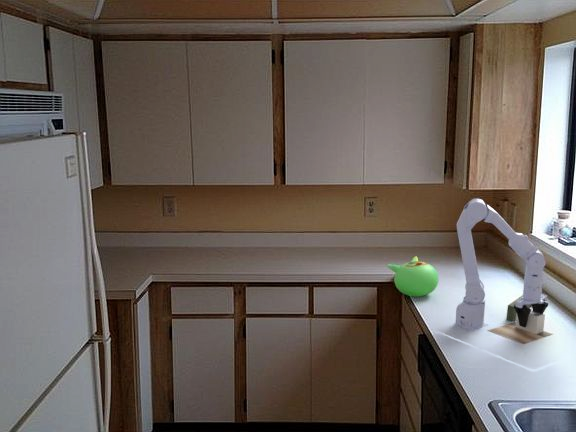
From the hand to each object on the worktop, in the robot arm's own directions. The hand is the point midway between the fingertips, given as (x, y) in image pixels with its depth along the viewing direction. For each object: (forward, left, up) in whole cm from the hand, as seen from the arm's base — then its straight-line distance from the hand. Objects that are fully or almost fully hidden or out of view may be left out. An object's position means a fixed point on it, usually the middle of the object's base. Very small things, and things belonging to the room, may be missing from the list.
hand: (529, 324), depth 203 cm
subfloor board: (-5, 0, -2) cm, 6 cm away
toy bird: (-4, +49, -3) cm, 50 cm away
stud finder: (0, 0, -2) cm, 2 cm away
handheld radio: (+13, +13, -3) cm, 19 cm away
